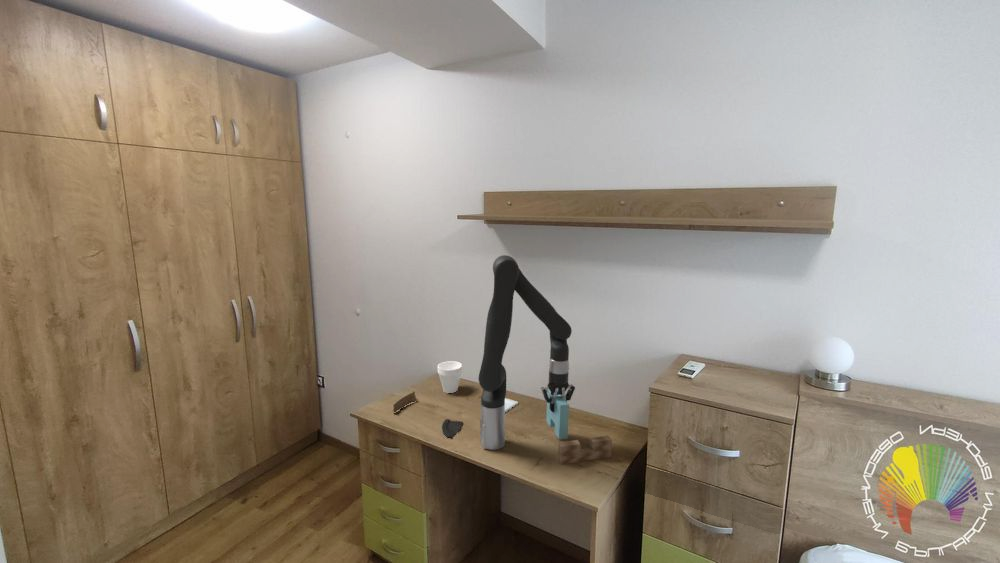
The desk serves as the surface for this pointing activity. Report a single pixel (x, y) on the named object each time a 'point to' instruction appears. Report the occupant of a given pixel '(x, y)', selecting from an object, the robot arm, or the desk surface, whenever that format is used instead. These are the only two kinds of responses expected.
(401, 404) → the brown curved strip
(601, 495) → the desk surface
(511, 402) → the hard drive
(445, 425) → the curved wedge
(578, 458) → the walnut slotted board
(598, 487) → the desk surface
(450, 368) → the cup
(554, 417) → the teal notched plate
